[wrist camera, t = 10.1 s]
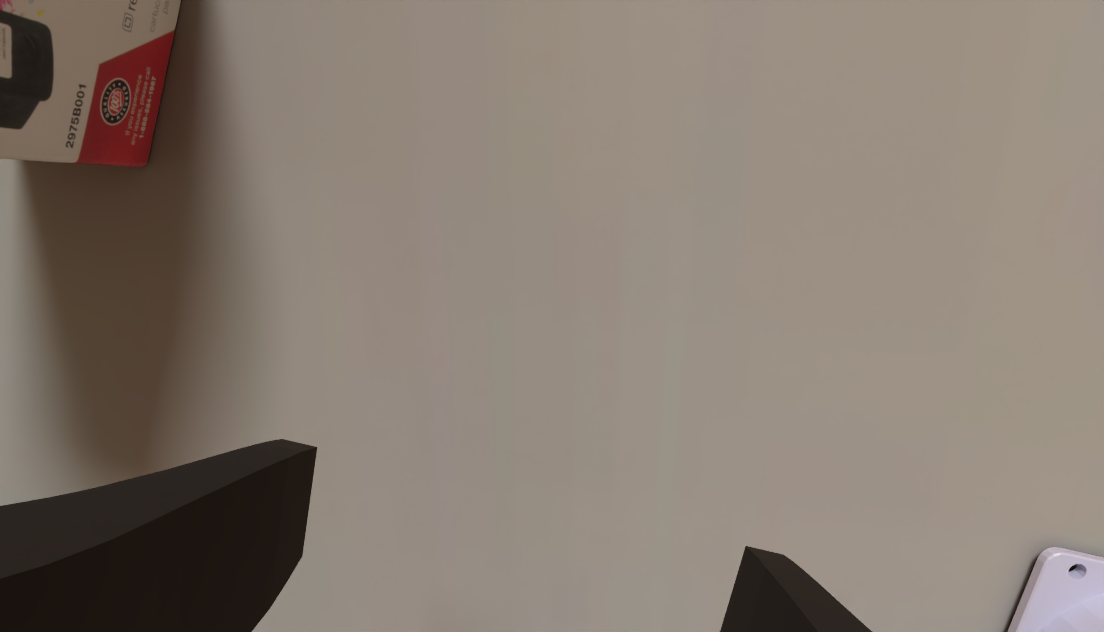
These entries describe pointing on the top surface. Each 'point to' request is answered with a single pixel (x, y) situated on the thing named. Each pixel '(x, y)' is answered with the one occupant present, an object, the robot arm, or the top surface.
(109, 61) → the ink box
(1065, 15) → the top surface
